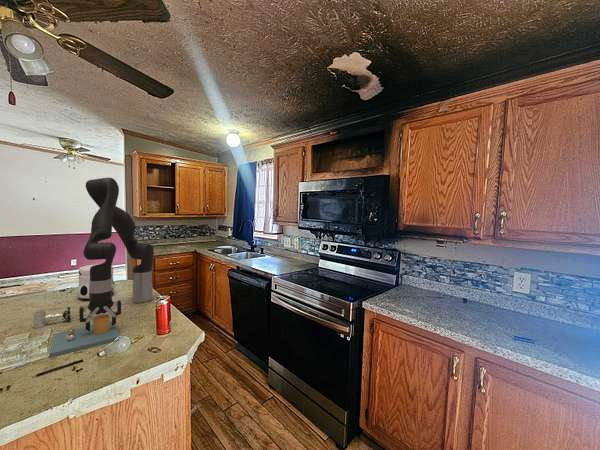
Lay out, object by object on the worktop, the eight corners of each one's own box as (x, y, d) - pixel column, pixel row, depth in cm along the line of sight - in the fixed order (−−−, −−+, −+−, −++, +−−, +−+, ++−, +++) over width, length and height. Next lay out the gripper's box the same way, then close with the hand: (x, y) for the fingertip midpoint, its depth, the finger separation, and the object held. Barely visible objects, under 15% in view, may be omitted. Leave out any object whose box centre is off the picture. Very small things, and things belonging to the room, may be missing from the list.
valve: (32, 330, 107) (70, 323, 116) (32, 315, 107) (70, 309, 115) (33, 325, 112) (70, 318, 120) (33, 310, 112) (70, 304, 120)
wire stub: (75, 337, 101) (75, 327, 100) (75, 339, 99) (75, 330, 98) (66, 339, 99) (66, 329, 99) (66, 341, 97) (66, 331, 97)
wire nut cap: (108, 326, 110) (108, 313, 110) (109, 331, 106) (109, 317, 106) (93, 330, 107) (93, 316, 106) (93, 334, 103) (93, 320, 102)
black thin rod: (32, 379, 79) (32, 376, 79) (32, 377, 79) (32, 374, 79) (83, 362, 88) (83, 359, 88) (82, 361, 88) (82, 358, 88)
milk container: (76, 295, 149) (76, 265, 148) (112, 289, 161) (112, 262, 160) (77, 304, 137) (77, 271, 136) (116, 297, 148) (116, 267, 147)
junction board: (114, 323, 116) (114, 320, 116) (118, 340, 102) (118, 336, 102) (54, 337, 103) (53, 333, 103) (49, 357, 89) (49, 353, 89)
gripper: (120, 284, 113) (120, 320, 114) (78, 290, 104) (78, 329, 105) (122, 289, 107) (122, 326, 108) (77, 295, 98) (78, 336, 99)
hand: (101, 327), depth 106 cm, fingers open, 7 cm apart
